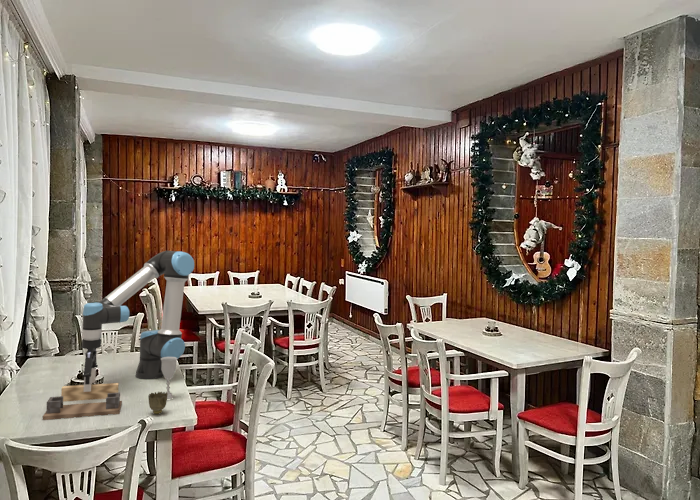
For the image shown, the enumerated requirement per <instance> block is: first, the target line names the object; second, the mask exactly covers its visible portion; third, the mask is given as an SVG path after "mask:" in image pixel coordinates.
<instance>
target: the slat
mask: <svg viewBox="0 0 700 500" xmlns="http://www.w3.org/2000/svg"><path fill="white" fill-rule="evenodd" d="M119 385H120V383H119V382H113V383H111V382H110V383H96V384H93V383H91V392H84V384H79V385H77V384H76V385H65V386H64V385H63V386H61V394H60V395H61V396H63V403H64V402H73V401H74V402H75V401H76V402H78V401H89V400H103V399H104V400H106V397H107V395H108V393H118V392H119Z"/></svg>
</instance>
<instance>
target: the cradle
mask: <svg viewBox="0 0 700 500" xmlns="http://www.w3.org/2000/svg"><path fill="white" fill-rule="evenodd" d="M120 398H121V392H120V391H118V393H108V395H107V397H106V399H105V401H101V402H100V401H99V402H87V403H74V404H73V403H72V404H71V403H70V404H64V402H63V396H60V395H59V396H50V397H49V399H47V401H46V411H45V412H44V414H43V415H42V421H47V420H48V421H49V420H61V418H64V419H73V418H74V417H76V418H83V417H82V416H88V417H95V416H94V415H101V416H109V415H108V414H113V415H120V413H121V409H122V405H123V401H122V400H121V399H120Z"/></svg>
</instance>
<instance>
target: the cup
mask: <svg viewBox="0 0 700 500" xmlns="http://www.w3.org/2000/svg"><path fill="white" fill-rule="evenodd" d="M167 395H168V394H167V391H158V392H156V391H155V392H154V393H153V392H151V393H149V394H148V405H149V408H150V410H151V411H152V413H154V414H153V415H160V414H159V413H161V414H163V410H164V409H165V408H166V406H167V402H168V400H167Z"/></svg>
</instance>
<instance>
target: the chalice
mask: <svg viewBox="0 0 700 500" xmlns="http://www.w3.org/2000/svg"><path fill="white" fill-rule="evenodd" d="M177 360H178V359H177V358H176V357H163V358H161V361H162V367H161V370H162V373H163V375H164V379H165V380H166V387H165V388H166V392H167V394H168V395H167V399H172V398H173V397H174V395H173V393H172V392H170V389H171V387H170V385H171V383H170V382H171V381H170V380H172V379H173V377H174V375H175V374H176V369H177ZM172 400H173V399H172Z"/></svg>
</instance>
